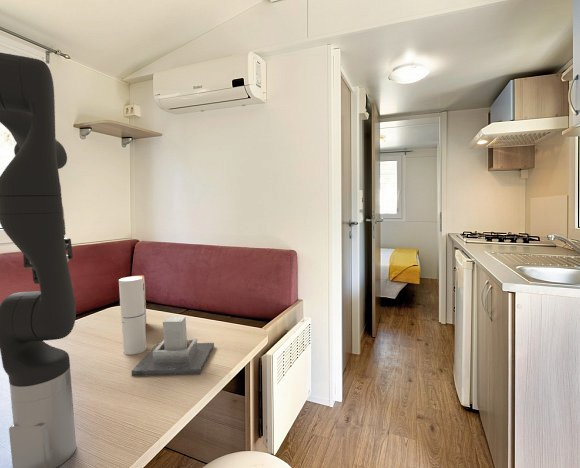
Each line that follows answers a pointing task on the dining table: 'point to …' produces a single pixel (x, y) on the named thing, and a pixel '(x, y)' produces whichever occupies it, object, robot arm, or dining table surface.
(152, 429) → the dining table surface
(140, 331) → the cylindrical container
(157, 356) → the duct plate
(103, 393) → the dining table surface
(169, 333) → the skincare box
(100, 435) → the dining table surface
